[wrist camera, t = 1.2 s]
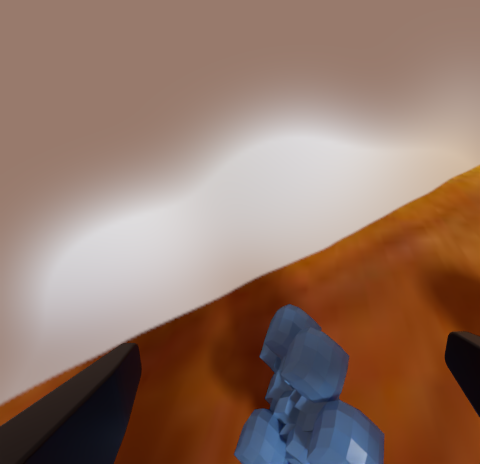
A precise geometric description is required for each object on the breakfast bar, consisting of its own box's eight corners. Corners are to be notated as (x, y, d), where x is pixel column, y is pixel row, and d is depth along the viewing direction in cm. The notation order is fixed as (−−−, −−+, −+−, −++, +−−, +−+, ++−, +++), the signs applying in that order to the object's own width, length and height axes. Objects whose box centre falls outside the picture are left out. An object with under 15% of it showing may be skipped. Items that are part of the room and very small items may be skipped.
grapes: (220, 390, 23) (203, 285, 15) (302, 368, 24) (322, 260, 16) (267, 639, 14) (278, 675, 6) (394, 585, 15) (528, 562, 7)
